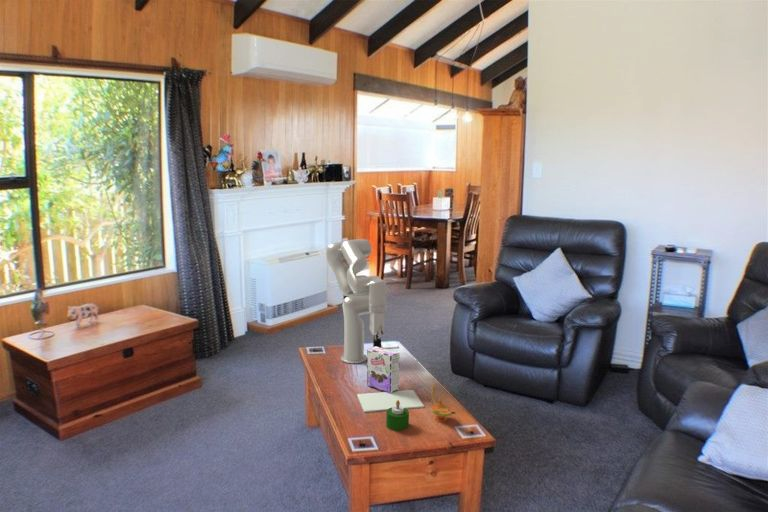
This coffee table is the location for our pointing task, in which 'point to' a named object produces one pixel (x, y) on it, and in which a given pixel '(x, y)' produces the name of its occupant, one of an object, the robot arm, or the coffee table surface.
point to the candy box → (383, 369)
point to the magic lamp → (440, 409)
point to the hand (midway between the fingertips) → (377, 348)
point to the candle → (397, 418)
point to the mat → (389, 400)
